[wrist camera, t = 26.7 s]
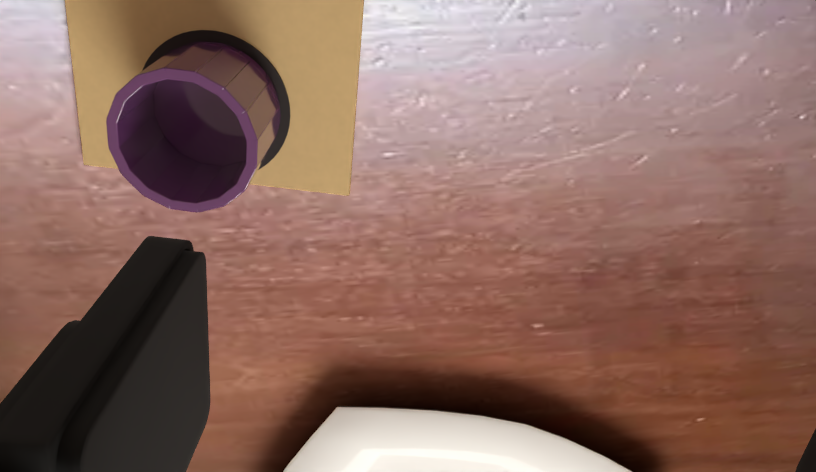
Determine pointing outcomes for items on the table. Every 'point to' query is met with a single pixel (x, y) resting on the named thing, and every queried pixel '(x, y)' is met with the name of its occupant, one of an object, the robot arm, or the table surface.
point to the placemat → (256, 37)
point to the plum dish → (194, 126)
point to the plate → (439, 444)
